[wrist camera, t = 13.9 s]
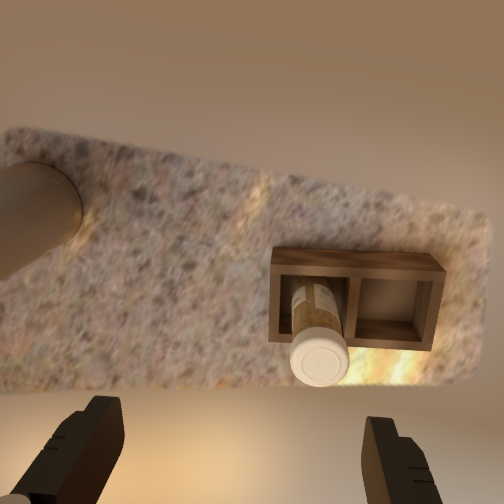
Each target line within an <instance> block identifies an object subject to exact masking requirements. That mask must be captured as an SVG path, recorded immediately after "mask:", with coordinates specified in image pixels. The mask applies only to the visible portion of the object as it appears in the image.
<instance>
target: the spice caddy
mask: <svg viewBox="0 0 504 504" xmlns="http://www.w3.org/2000/svg"><path fill="white" fill-rule="evenodd" d="M299 275H307V276H327V277H328V278H329V280H330V281H331V283H332V285H333V295H334V298H335V302H336V306H337V310H338V315H339V319H340V323H341V331H342V337H343V339H344V340H345V342H346V345H347V346H349V347H366V348H382V349H399V350H416V351H431V349H432V344H433V339H434V333H435V328H436V323H437V318H438V313H439V308H440V302H441V297H442V292H443V287H444V282H445V277H446V271H445V270H444V269H443V268H442V267H441V266H440V264H439V263H438V262H437V261H436V260H435V259H434V258H433V257H432V256H431V255H430V254H424V253H399V252H374V251H349V250H324V249H299V248H274V247H273V250H272V257H271V268H270V304H269V340H268V342H282V343H292V341H293V335H292V334H293V333H292V332H293V331H292V295H291V286H292V283H293V281H294V280H295V278H296V277H297V276H299Z"/></svg>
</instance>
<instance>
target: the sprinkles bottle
mask: <svg viewBox="0 0 504 504" xmlns="http://www.w3.org/2000/svg"><path fill="white" fill-rule="evenodd" d="M291 295H292V331H293V332H292V333H293V334H292V335H293V341H292V344H291V347H290V364H291V368H292V371H293V373H294V374H295V376H296V377H297V378H298V379H299V380H301V381H302V382H303V383H305V384H308V385H310V386H315V387H326V386H330V385H333V384H335V383H337V382H339V381H340V380H341V379H342V378H343V377H344V376H345V375H346V373H347V371H348V369H349V353H348V349H347V345H346V342H345V340H344V339H343V337H342V331H341V323H340V319H339V315H338V310H337V306H336V302H335V298H334V295H333V285H332V283H331V281H330V280H329V278H328V277H327V276H307V275H299V276H297V277H296V278H295V280H294V281H293V283H292V286H291Z"/></svg>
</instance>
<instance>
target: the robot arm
mask: <svg viewBox="0 0 504 504" xmlns="http://www.w3.org/2000/svg"><path fill="white" fill-rule="evenodd" d="M81 220H82V206H81V201H80V198H79V196H78V193H77V191H76V189H75V188H74V186H73V185H72V183H71V182H70V181H69V180H68V179H67V178H66V177H65V176H64V175H63V174H62V173H60V172H59V171H58V170H56V169H54V168H52V167H50V166H48V165H44V164H41V163H32V162H31V163H24V164H19V165H15V166H10V167H6V168H0V281H2V280H4V279H5V278H7V277H9V276H10V275H12V274H14V273H15V272H17V271H19V270H20V269H22V268H24V267H25V266H27V265H28V264H30V263H32V262H33V261H35V260H37V259H38V258H40V257H42V256H43V255H45V254H47V253H49V252H50V251H52V250H53V249H55V248H57V247H58V246H60V245H61V244H63V243H65V242H66V241H68V240H69V239H71V238H72V237H73V236H74V235H75V234H76V232H77V230H78V229H79V227H80V224H81ZM124 437H125V433H124V425H123V418H122V410H121V403H120V399H119V398H118V397H110V396H94V397H93V398H92V400H91V401H90V402H89V404H88V405H87V407H86V408H85V410H84V411H75V412H74V413H73V414H72V415H70V416H69V417H68V418H66V419H65V420H64V421H63V422H61V424H60V425H59V427H58V428H57V429H56V431H55V432H54V434H53V435H52V438H50V439H49V440H48V442H47V443H46V445H45V446H44V449H43V450H41V451H40V453H39V454H38V456H37V457H36V458H35V460H34V461H33V462H32V464H31V465H30V467H29V468H28V469H27V471H26V472H25V474H24V475H23V476H22V478H21V479H20V480H19V482H18V483H17V485H16V486H15V488H14V489H13V490H12V491H11V493H10V494H9V495H5V496H2V497H0V504H96V503H97V501H98V499H99V497H100V495H101V493H102V490H103V489H104V487H105V485H106V483H107V480H108V478H109V476H110V474H111V472H112V470H113V468H114V466H115V464H116V462H117V460H118V458H119V456H120V454H121V451H122V448H123V444H124ZM361 467H362V476H363V481H364V486H365V492H366V497H367V502H368V504H443V503H442V500H441V498H440V495H439V492H438V490H437V487H436V485H435V484H434V479H433V477H432V474H431V472H430V471H429V466H428V463H427V461H426V458H425V455H424V453H423V451H422V450H421V449H420V448H419V447H418V445H417V444H416V443H415V442H414V441H413V440H412V438H410V437H399V436H398V433H397V430H396V427H395V424H394V421H393V419H392V418H384V417H370V416H368V417H367V418H366V424H365V431H364V439H363V446H362V454H361Z"/></svg>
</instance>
